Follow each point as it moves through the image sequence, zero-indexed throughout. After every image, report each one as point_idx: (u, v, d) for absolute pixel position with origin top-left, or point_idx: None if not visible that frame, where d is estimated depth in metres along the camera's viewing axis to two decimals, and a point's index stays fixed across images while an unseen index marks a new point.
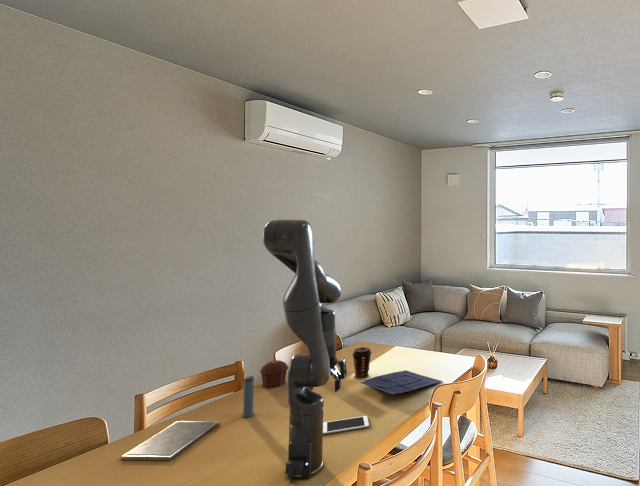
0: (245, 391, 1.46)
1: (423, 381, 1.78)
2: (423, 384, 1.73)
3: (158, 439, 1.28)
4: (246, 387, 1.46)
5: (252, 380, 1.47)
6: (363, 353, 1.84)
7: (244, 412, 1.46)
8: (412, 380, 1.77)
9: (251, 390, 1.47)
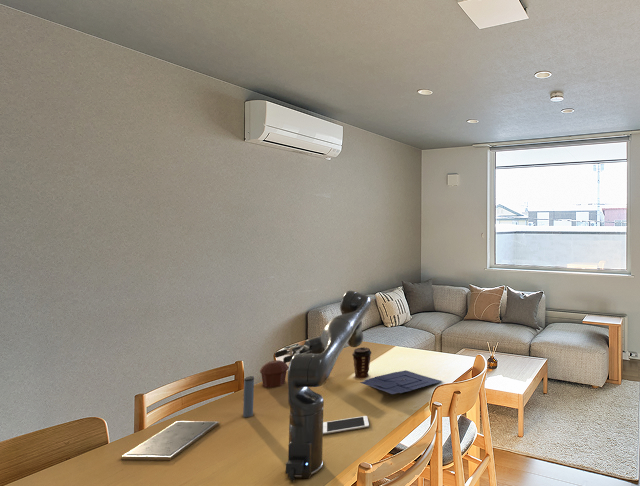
0: (245, 391, 1.46)
1: (423, 381, 1.78)
2: (423, 384, 1.73)
3: (158, 439, 1.28)
4: (246, 387, 1.46)
5: (252, 380, 1.47)
6: (363, 353, 1.84)
7: (244, 412, 1.46)
8: (412, 380, 1.77)
9: (251, 390, 1.47)
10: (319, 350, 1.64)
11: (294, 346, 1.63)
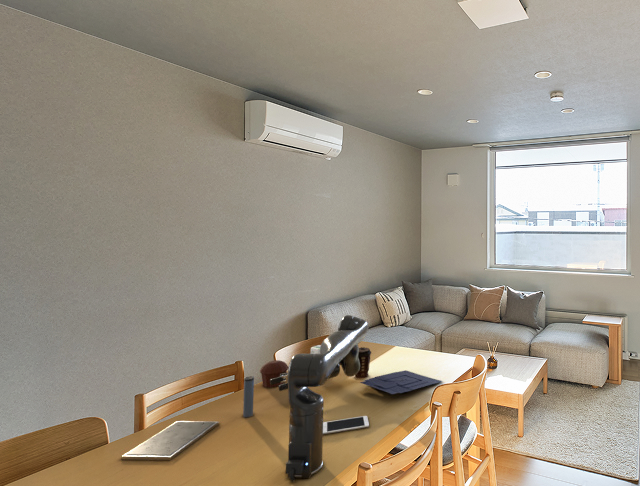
0: (245, 391, 1.46)
1: (423, 381, 1.78)
2: (423, 384, 1.73)
3: (158, 439, 1.28)
4: (246, 387, 1.46)
5: (252, 380, 1.47)
6: (363, 353, 1.84)
7: (244, 412, 1.46)
8: (412, 380, 1.77)
9: (251, 390, 1.47)
10: None
11: None
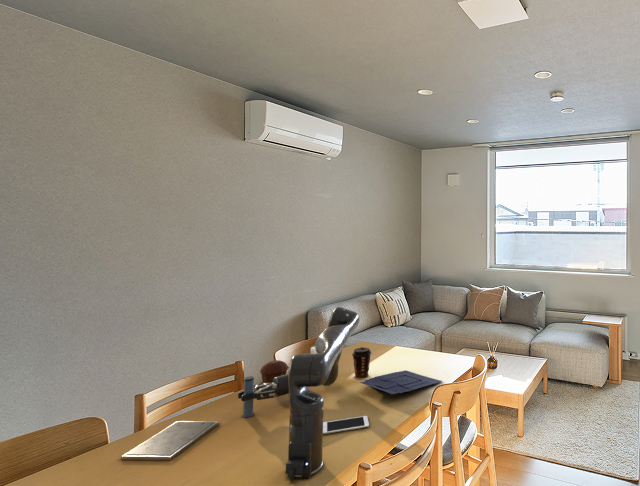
0: (245, 391, 1.46)
1: (423, 381, 1.78)
2: (423, 384, 1.73)
3: (158, 439, 1.28)
4: (246, 387, 1.46)
5: (252, 380, 1.47)
6: (363, 353, 1.84)
7: (244, 412, 1.46)
8: (412, 380, 1.77)
9: (251, 390, 1.47)
10: (287, 389, 1.54)
11: (260, 385, 1.52)
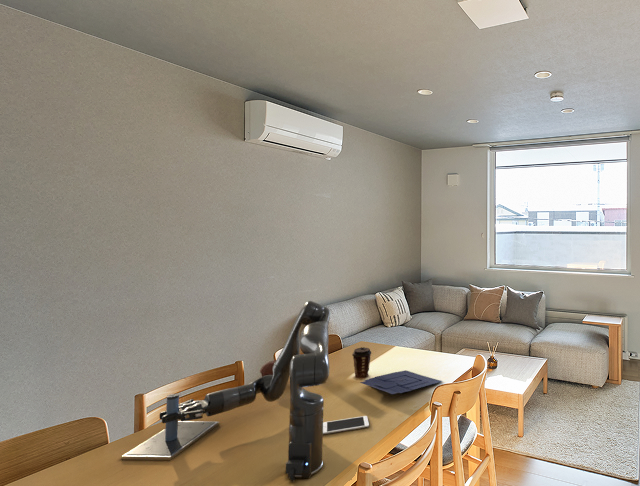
0: (167, 411, 1.27)
1: (423, 381, 1.78)
2: (423, 384, 1.73)
3: (158, 439, 1.28)
4: (168, 406, 1.27)
5: (176, 398, 1.28)
6: (363, 353, 1.84)
7: (166, 435, 1.27)
8: (412, 380, 1.77)
9: (175, 410, 1.28)
10: (220, 407, 1.36)
11: (188, 403, 1.34)
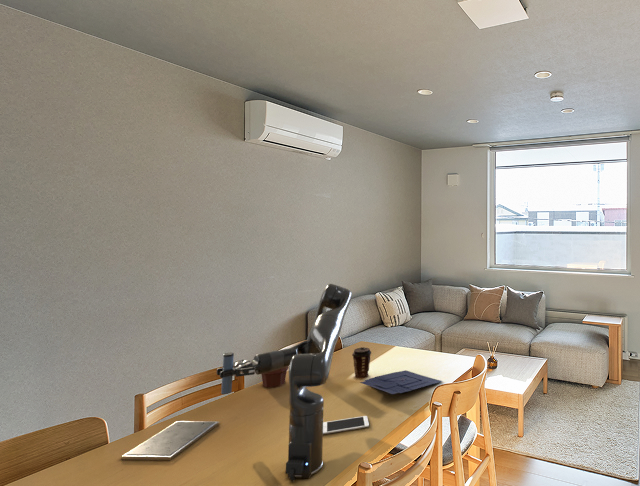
0: (224, 367, 1.42)
1: (423, 381, 1.78)
2: (423, 384, 1.73)
3: (158, 439, 1.28)
4: (225, 363, 1.42)
5: (232, 356, 1.43)
6: (363, 353, 1.84)
7: (222, 389, 1.42)
8: (412, 380, 1.77)
9: (230, 366, 1.43)
10: (268, 366, 1.50)
11: (240, 362, 1.48)
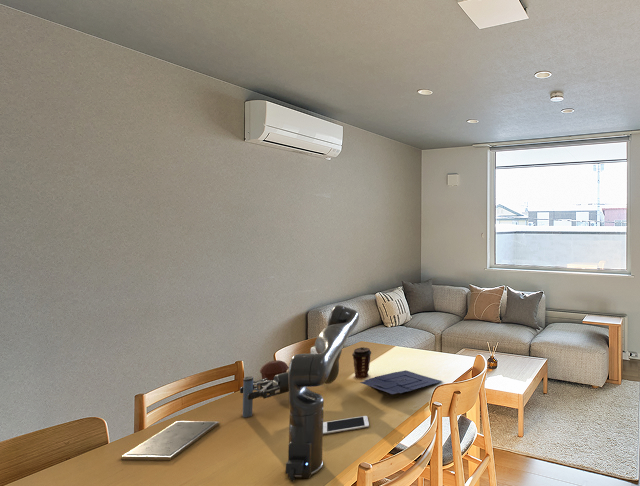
0: (244, 391, 1.46)
1: (423, 381, 1.78)
2: (423, 384, 1.73)
3: (158, 439, 1.28)
4: (245, 387, 1.46)
5: (251, 380, 1.47)
6: (363, 353, 1.84)
7: (243, 412, 1.46)
8: (412, 380, 1.77)
9: (250, 390, 1.47)
10: (288, 386, 1.55)
11: (262, 381, 1.54)
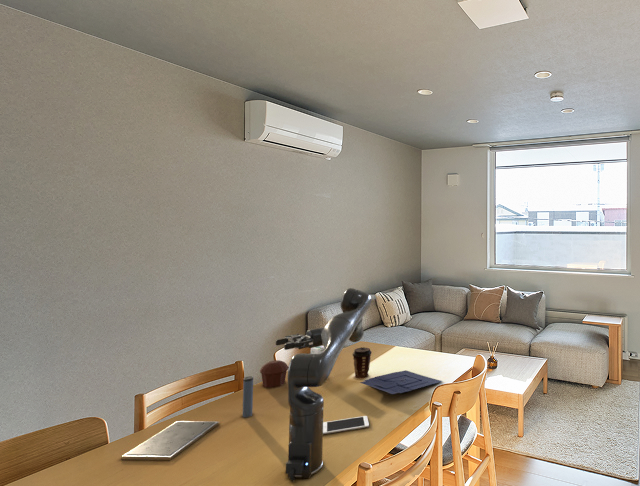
0: (244, 391, 1.46)
1: (423, 381, 1.78)
2: (423, 384, 1.73)
3: (158, 439, 1.28)
4: (245, 387, 1.46)
5: (251, 380, 1.47)
6: (364, 353, 1.84)
7: (243, 412, 1.46)
8: (412, 380, 1.77)
9: (250, 390, 1.47)
10: (320, 341, 1.65)
11: (295, 335, 1.64)
